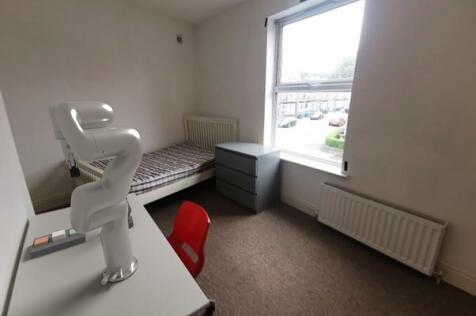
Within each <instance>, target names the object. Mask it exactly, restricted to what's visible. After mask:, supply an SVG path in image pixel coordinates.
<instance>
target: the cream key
mask: <svg viewBox="0 0 476 316" xmlns="http://www.w3.org/2000/svg"><path fill="white" fill-rule="evenodd" d="M65 230H66V229H60V230H58V231H53V232H52V233H51V234H52V239H53V242H55V241H58V240H62V239H65V238H66V233H65Z"/></svg>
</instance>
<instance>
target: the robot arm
mask: <svg viewBox="0 0 476 316" xmlns="http://www.w3.org/2000/svg"><path fill="white" fill-rule="evenodd" d="M48 113H49V117H50V120H51V125H52V129H53V132H54V137H55V140H56V141H60V147H61V150H62V153H63V158H64V160H65V163H66V164H68V166H69V174H70V177H71V178H72V179H73V178H79V177H81V173H80V168H79V167H80V166H78V162H81V161H83V162H93V161H98V160H103V159H107V158H112V157H113V159H111V160H110V161H109V162H108V164H107V165H106V166H105V167H104V170H103V173H102V177H101V178H100V179H98V180H95V181H92V182H87V183H84V184H82V185H79V186H77V187H76V188H74V189H73V191H72V192H71V198H70V208H69V209H70V210H69V211H70V212H69V220H70V225H71V228H73V229H74V230H75V231H76V232H77V233H80V234H84V233H85V234H87V233H90V232H92V231H95V230H98V229H100V232H99V238H100V242H101V247H102V248H101V249H102V253H103V259H104V263H105V267H104V268H103V271H102V277H103V278H102V279H101V281H100V284H101V285H105V286H106V284H107V283H108V282H111V283H112V282H114V283H115V282H119V281H122V280H125V279H127V278H129V277H131V275H133V274H134V273H135V272H136V270H138V268H139V260H138V258H137V257H135V256H134V252H133V248H132V247H133V246H132V242H131V235H130V229H129V227H128V203H129V201H128V196H129V194H130V193H129V192H130V190H131V186H132V183H133V179H134V176H135V173H136V171H137V170H138V168H139V166H140V165H141V161H142V159H143V153H144V144H143V140H142V137H141V135H140V133H139V132H138V131H137V130H136V129H134V128H132V127H126V126H115V127H113V126H112V127H109V126H110V125H112V123H114V119H115V116H116V115H115V112H114V110H113V108H112V107H111V106H110V105H109V104H107V103H106V102H105V103H104V102H102V101H97V100H95V101H93V100H91V101H89V100H87V101H86V100H85V101H82V100H81V101H79V100H78V101H74V100H73V101H64V102H63V101H62V102H61V103H58V104H50V105H49V106H48ZM126 198H127V200H126ZM127 201H128V202H127Z"/></svg>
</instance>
